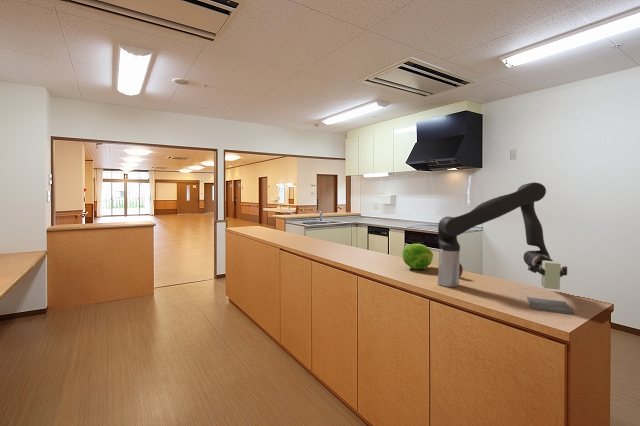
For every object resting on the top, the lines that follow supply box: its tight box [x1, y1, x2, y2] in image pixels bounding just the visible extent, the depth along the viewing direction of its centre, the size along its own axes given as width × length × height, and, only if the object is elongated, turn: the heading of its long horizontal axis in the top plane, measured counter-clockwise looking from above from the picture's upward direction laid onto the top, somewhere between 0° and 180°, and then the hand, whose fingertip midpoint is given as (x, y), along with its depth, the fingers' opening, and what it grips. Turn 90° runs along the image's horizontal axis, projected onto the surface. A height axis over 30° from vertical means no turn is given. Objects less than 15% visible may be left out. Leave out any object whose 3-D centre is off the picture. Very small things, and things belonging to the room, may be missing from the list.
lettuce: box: [402, 243, 434, 270], centre depth 194 cm, size 17×20×15 cm
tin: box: [459, 262, 464, 278], centre depth 177 cm, size 15×3×8 cm, turn 21°
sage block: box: [541, 260, 562, 290], centre depth 128 cm, size 5×5×10 cm
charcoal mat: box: [526, 296, 575, 315], centre depth 128 cm, size 13×13×1 cm
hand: (552, 273), depth 125 cm, fingers closed on sage block, 5 cm apart
